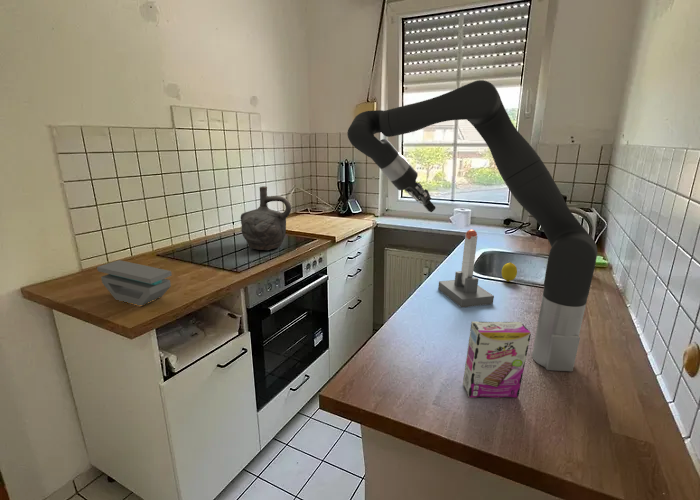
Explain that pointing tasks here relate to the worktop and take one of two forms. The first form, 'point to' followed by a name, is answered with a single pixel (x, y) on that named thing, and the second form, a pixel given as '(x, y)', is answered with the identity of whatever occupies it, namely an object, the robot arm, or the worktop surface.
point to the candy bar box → (495, 359)
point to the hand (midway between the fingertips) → (432, 209)
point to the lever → (468, 255)
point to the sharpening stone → (134, 281)
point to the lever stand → (465, 292)
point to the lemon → (509, 271)
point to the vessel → (265, 223)
